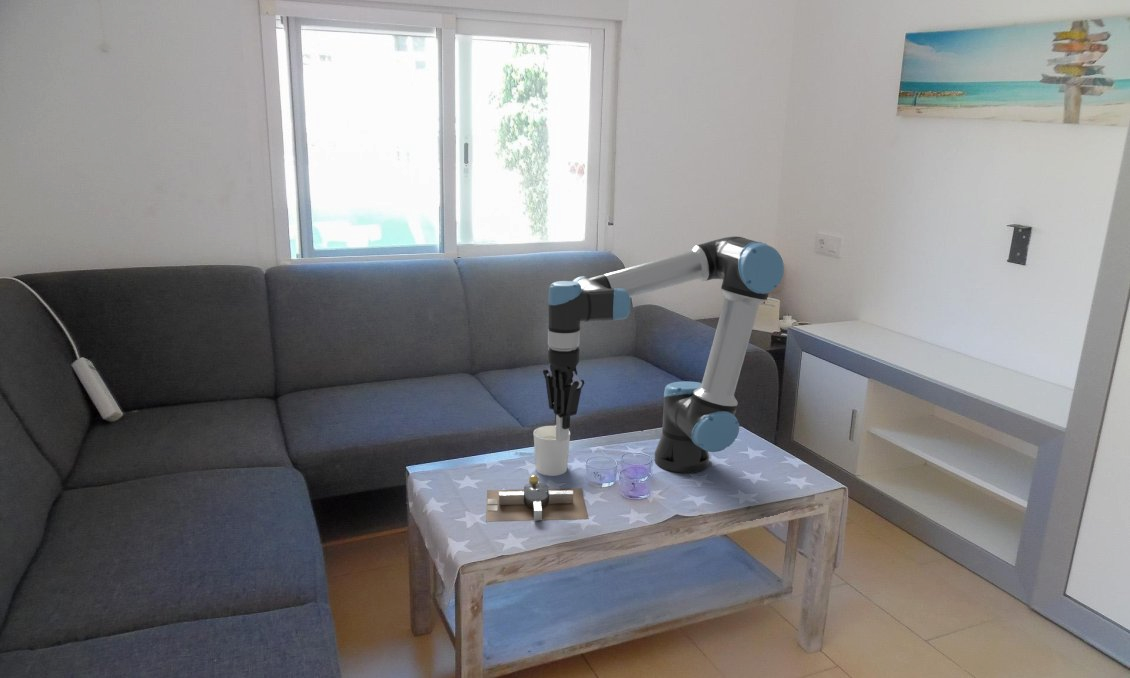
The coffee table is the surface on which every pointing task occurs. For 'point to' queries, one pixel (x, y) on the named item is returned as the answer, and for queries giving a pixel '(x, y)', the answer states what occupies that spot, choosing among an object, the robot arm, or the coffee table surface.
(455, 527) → the coffee table surface
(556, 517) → the level base
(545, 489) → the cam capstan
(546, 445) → the candle holder
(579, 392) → the robot arm
